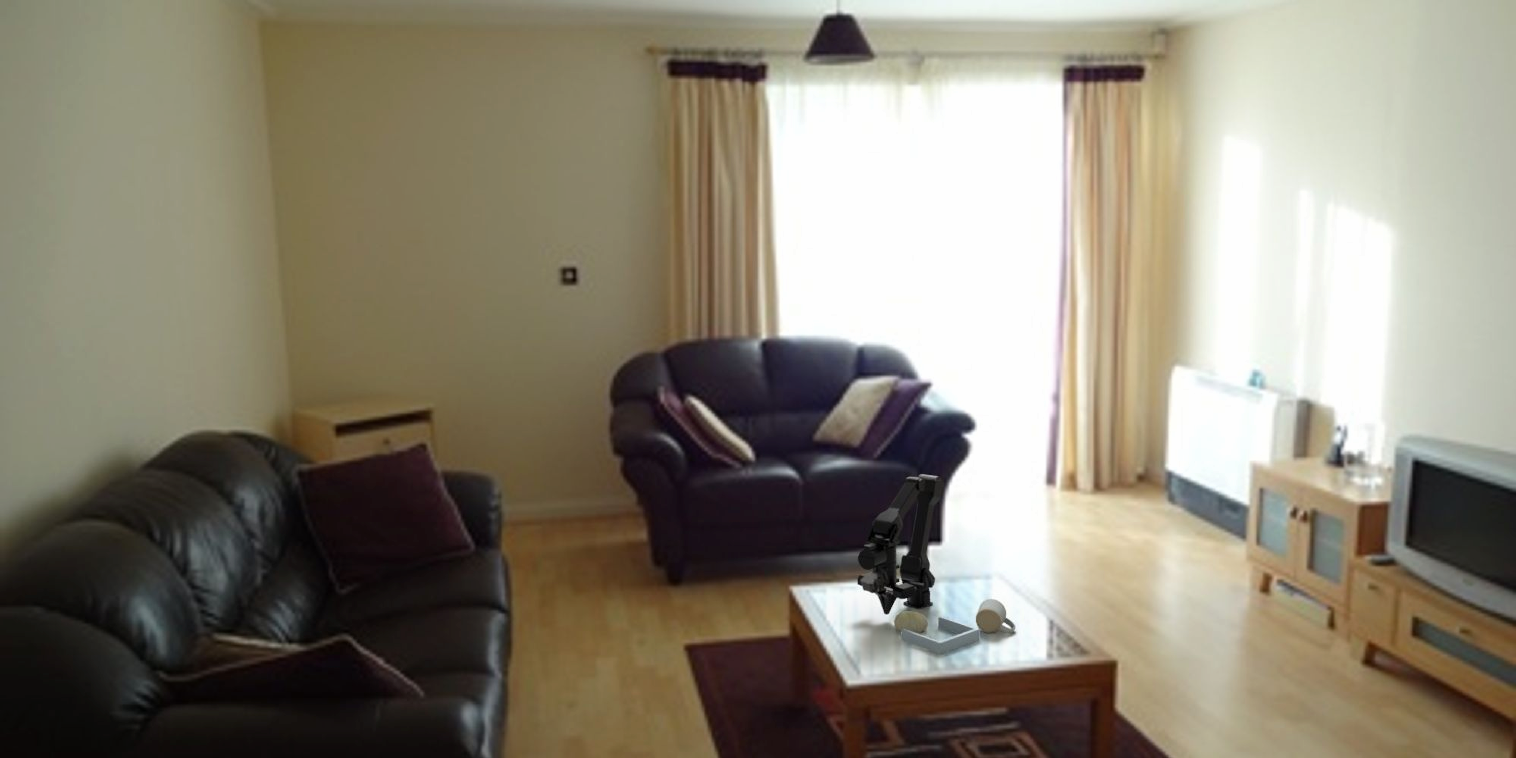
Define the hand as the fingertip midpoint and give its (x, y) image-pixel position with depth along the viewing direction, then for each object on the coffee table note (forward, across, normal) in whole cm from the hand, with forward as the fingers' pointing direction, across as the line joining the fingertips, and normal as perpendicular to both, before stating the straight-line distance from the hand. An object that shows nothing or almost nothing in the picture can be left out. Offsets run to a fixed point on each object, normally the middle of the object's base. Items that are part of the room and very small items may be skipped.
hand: (886, 614), depth 305 cm
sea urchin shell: (+2, +10, 0) cm, 10 cm away
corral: (+2, +20, 0) cm, 20 cm away
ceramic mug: (+2, +25, +17) cm, 31 cm away
